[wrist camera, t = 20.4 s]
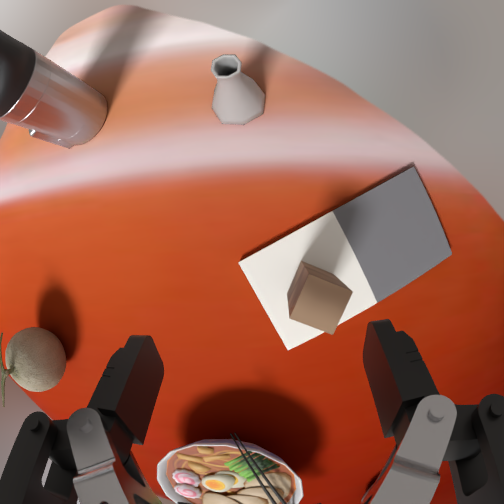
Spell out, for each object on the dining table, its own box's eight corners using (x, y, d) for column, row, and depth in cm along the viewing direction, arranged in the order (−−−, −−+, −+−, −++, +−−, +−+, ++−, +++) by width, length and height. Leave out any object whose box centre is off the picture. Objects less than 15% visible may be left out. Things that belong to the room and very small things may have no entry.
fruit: (57, 308, 41) (-6, 333, 26) (86, 370, 41) (32, 411, 27) (27, 322, 42) (-29, 346, 27) (53, 378, 43) (3, 412, 28)
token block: (319, 306, 36) (332, 334, 26) (286, 293, 36) (289, 318, 26) (333, 273, 35) (353, 291, 25) (300, 260, 36) (309, 273, 26)
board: (287, 347, 38) (288, 350, 37) (239, 261, 37) (238, 262, 36) (448, 253, 35) (452, 253, 34) (410, 167, 34) (413, 166, 33)
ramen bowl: (143, 419, 41) (123, 447, 33) (274, 392, 39) (272, 427, 30) (207, 504, 42) (199, 532, 34) (318, 488, 40) (321, 519, 32)
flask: (259, 74, 35) (252, 33, 25) (271, 119, 35) (269, 85, 26) (207, 86, 36) (187, 50, 26) (217, 132, 36) (197, 103, 26)
